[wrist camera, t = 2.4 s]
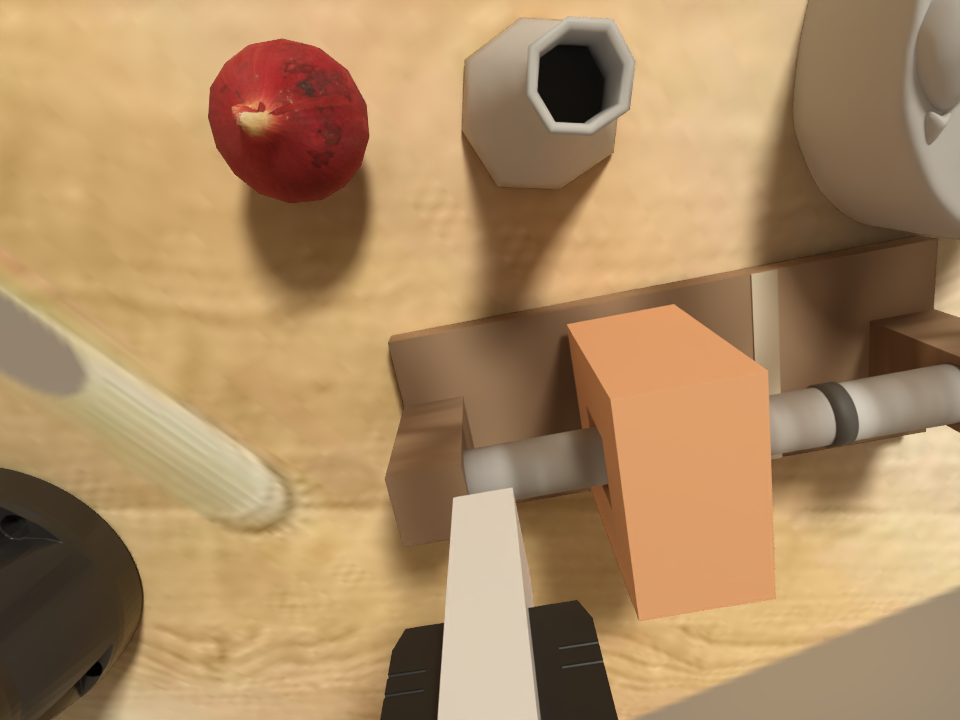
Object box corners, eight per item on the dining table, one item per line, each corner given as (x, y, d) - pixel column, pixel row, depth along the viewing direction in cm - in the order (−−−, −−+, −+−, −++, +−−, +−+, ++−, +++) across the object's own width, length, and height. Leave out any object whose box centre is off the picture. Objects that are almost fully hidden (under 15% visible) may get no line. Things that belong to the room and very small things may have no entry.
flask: (635, 167, 27) (725, 170, 17) (484, 211, 27) (491, 237, 18) (603, -8, 25) (686, -112, 15) (438, 44, 25) (420, -26, 16)
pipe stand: (433, 505, 32) (422, 613, 25) (391, 335, 29) (362, 399, 22) (909, 421, 31) (1054, 508, 23) (918, 235, 28) (1090, 264, 20)
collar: (591, 490, 30) (639, 620, 22) (566, 324, 27) (610, 399, 19) (688, 473, 30) (775, 598, 21) (673, 304, 27) (768, 370, 18)
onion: (334, 30, 25) (275, -27, 17) (405, 155, 27) (379, 153, 19) (224, 102, 26) (121, 78, 18) (299, 219, 27) (234, 242, 20)
